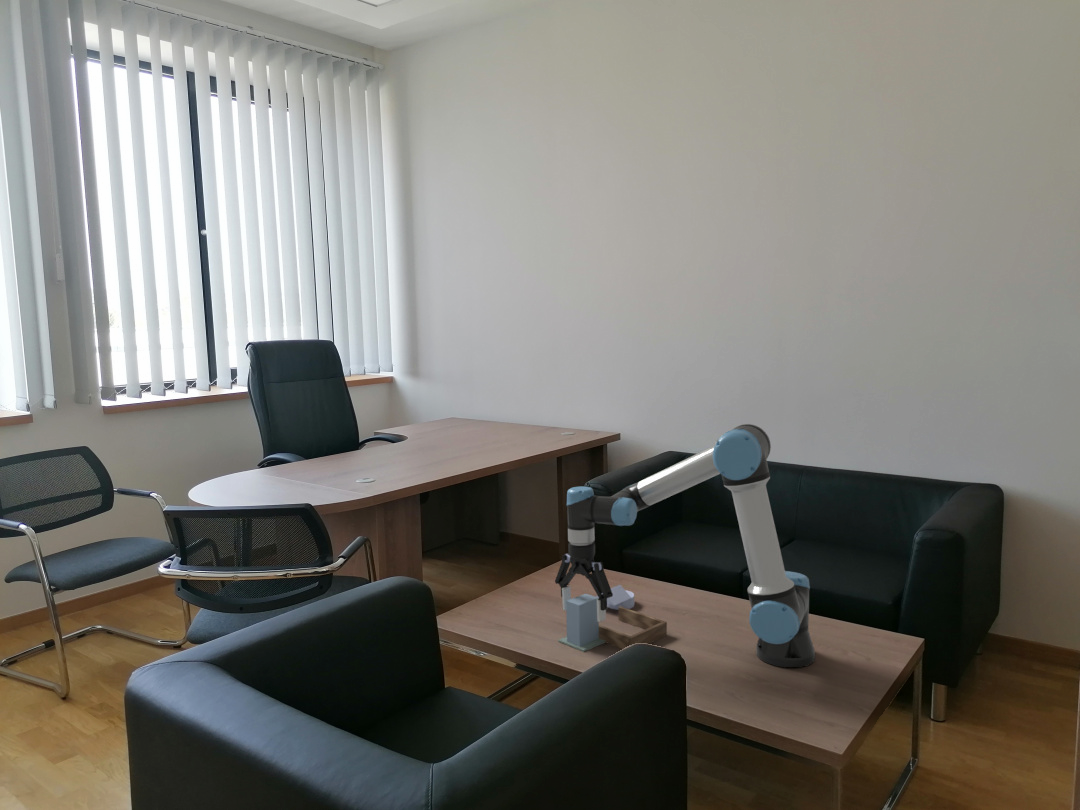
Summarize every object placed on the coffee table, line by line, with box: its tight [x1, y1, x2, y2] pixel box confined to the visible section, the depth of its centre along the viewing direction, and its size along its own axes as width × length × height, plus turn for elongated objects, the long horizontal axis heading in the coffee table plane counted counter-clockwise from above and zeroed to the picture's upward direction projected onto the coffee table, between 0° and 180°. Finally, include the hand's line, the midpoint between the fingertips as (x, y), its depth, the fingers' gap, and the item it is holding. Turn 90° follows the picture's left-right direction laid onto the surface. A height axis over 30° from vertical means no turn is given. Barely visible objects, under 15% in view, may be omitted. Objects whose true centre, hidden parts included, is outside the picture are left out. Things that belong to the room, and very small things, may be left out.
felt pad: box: [557, 635, 606, 653], centre depth 226 cm, size 10×10×1 cm
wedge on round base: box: [595, 584, 635, 611], centre depth 252 cm, size 9×7×13 cm
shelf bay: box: [599, 607, 668, 650], centre depth 230 cm, size 18×16×4 cm
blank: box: [565, 593, 600, 647], centre depth 225 cm, size 5×8×12 cm, turn 133°
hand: (583, 614), depth 225 cm, fingers open, 13 cm apart
